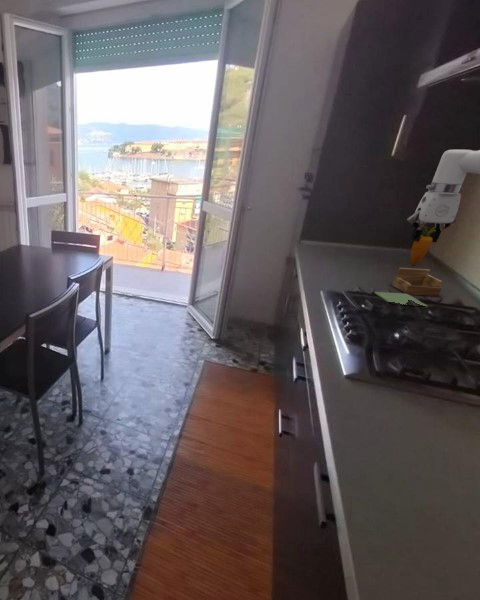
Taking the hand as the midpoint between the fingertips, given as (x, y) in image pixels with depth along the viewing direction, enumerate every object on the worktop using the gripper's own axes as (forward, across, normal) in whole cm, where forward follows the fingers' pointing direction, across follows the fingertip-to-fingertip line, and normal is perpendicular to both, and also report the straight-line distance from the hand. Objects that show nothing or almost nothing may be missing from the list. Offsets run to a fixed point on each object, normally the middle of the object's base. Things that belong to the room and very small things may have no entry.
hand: (423, 240), depth 129 cm
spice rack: (+24, +12, +12) cm, 29 cm away
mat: (+24, 0, 0) cm, 24 cm away
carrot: (+10, 0, 0) cm, 10 cm away
